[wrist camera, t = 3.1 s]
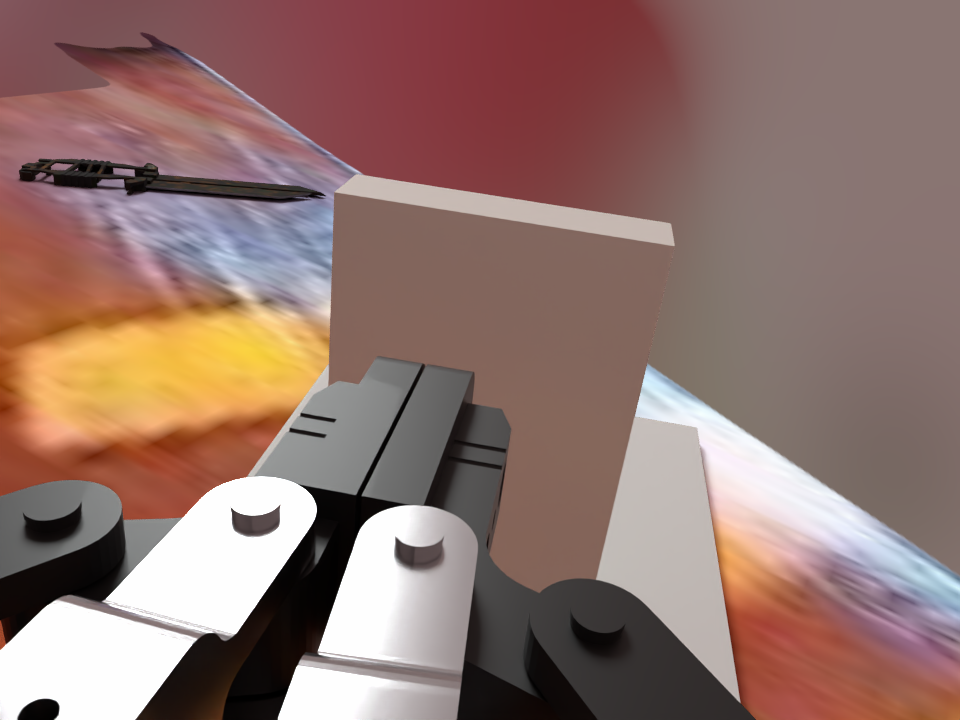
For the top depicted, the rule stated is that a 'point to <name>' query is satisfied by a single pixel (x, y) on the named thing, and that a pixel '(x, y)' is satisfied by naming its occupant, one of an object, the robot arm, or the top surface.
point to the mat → (655, 537)
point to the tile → (511, 340)
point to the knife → (154, 179)
